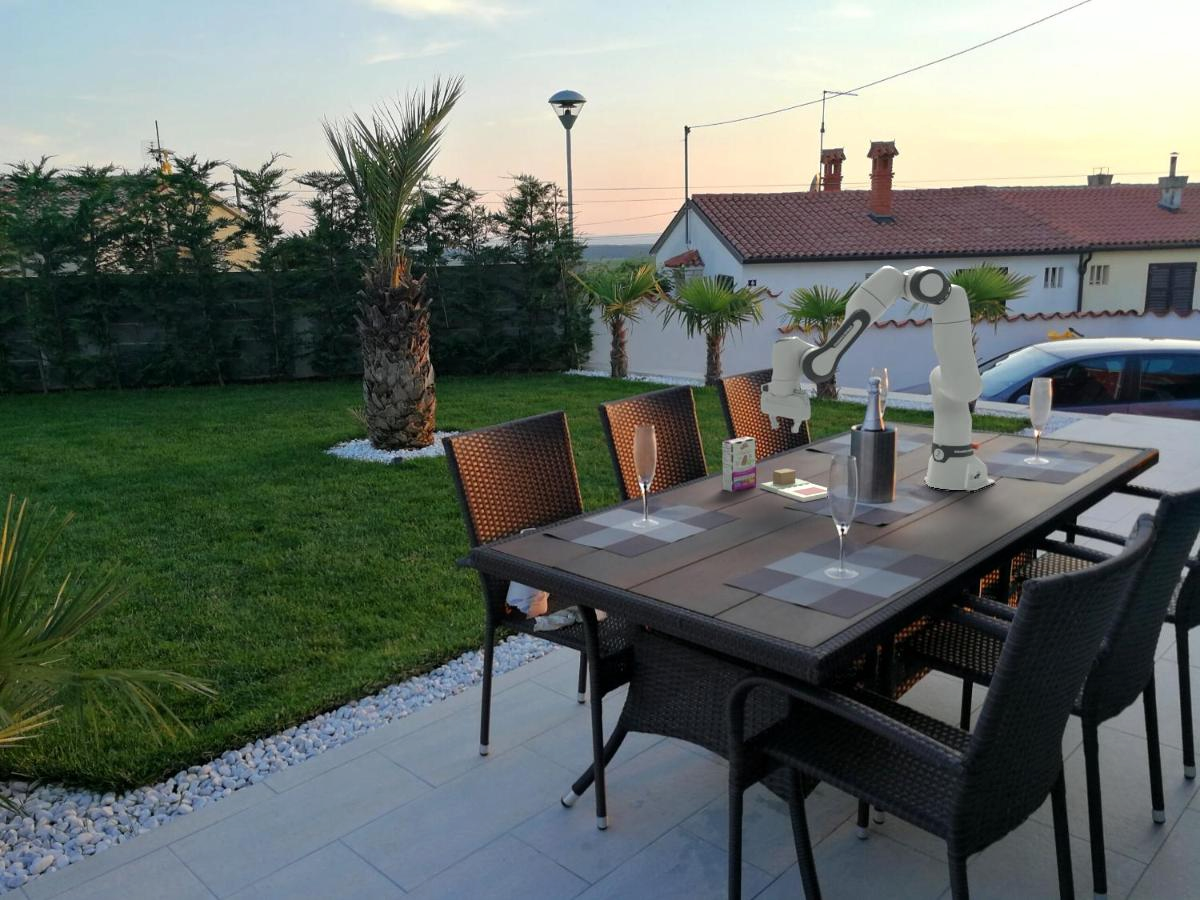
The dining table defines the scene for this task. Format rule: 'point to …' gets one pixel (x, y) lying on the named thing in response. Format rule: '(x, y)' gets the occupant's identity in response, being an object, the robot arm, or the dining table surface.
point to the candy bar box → (739, 463)
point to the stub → (782, 480)
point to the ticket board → (804, 492)
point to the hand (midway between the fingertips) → (784, 430)
